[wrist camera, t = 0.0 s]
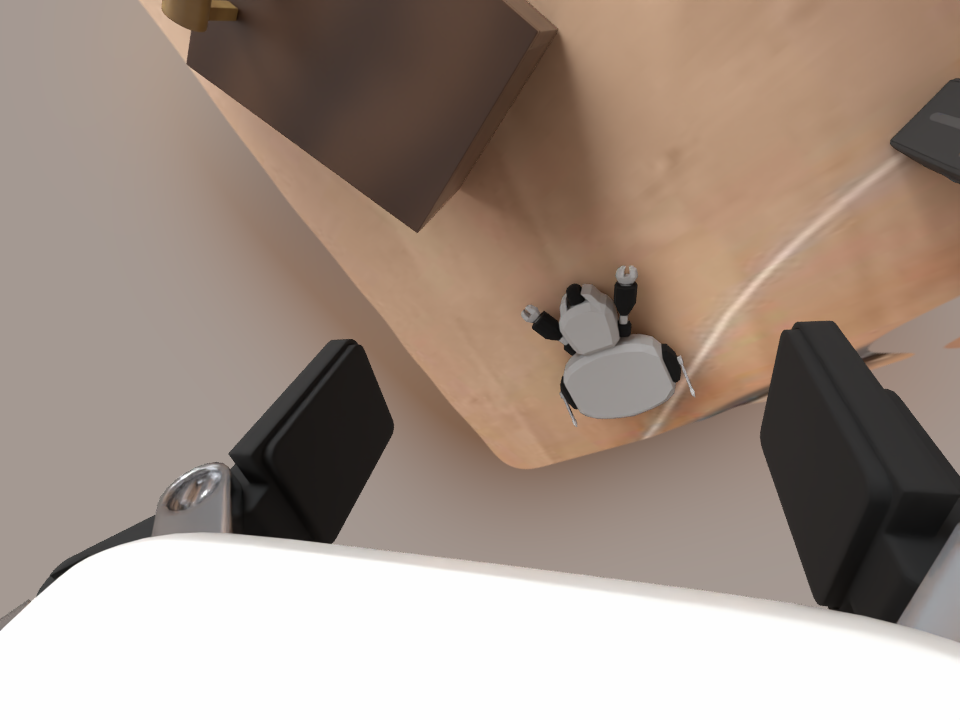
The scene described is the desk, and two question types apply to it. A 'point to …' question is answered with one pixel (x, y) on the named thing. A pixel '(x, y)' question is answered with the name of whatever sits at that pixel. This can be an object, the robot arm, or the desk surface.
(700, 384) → the desk surface
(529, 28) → the lid
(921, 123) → the walkie-talkie
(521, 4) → the brown hollow rectangular box
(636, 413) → the robot toy
